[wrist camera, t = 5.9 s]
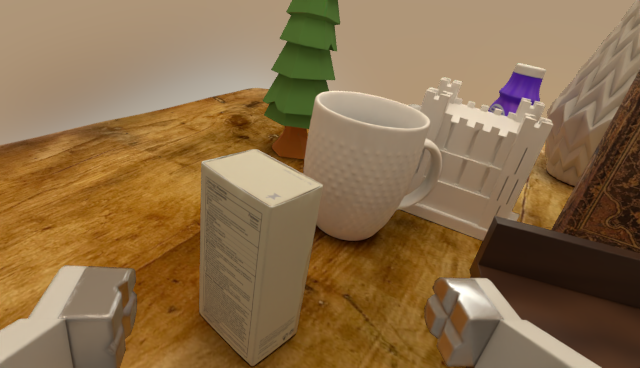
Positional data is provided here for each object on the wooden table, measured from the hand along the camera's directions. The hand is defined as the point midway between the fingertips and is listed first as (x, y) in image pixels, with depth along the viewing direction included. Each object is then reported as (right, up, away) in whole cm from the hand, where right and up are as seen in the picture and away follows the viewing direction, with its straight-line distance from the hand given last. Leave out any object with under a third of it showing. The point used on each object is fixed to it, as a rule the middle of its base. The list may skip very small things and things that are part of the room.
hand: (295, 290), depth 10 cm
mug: (+4, -2, +32) cm, 32 cm away
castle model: (+18, 0, +40) cm, 44 cm away
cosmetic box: (-5, -7, +17) cm, 19 cm away
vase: (+46, +4, +59) cm, 74 cm away
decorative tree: (-4, +8, +46) cm, 47 cm away
